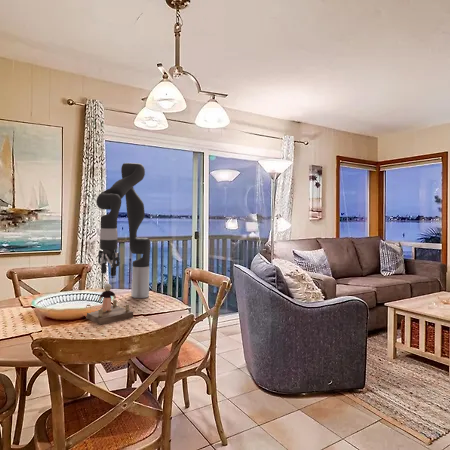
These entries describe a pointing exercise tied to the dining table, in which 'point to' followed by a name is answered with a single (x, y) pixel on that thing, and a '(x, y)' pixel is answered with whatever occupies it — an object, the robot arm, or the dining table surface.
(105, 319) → the grey peg board
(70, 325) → the dining table surface
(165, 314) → the dining table surface
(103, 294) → the grandmother figurine
